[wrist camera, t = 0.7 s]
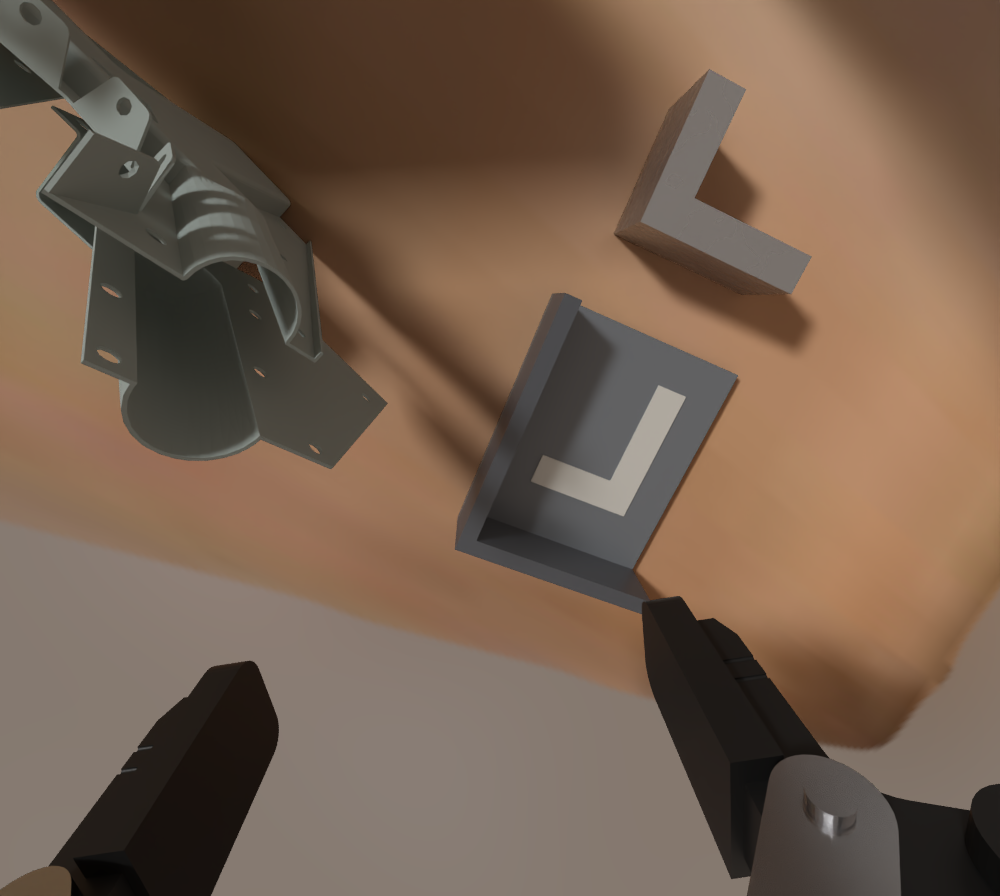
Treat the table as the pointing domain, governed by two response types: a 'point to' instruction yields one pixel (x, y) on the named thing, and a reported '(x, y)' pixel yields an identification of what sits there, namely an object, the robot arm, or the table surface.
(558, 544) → the grey l-shaped slot base
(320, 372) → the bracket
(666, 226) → the l bracket
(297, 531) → the table surface
